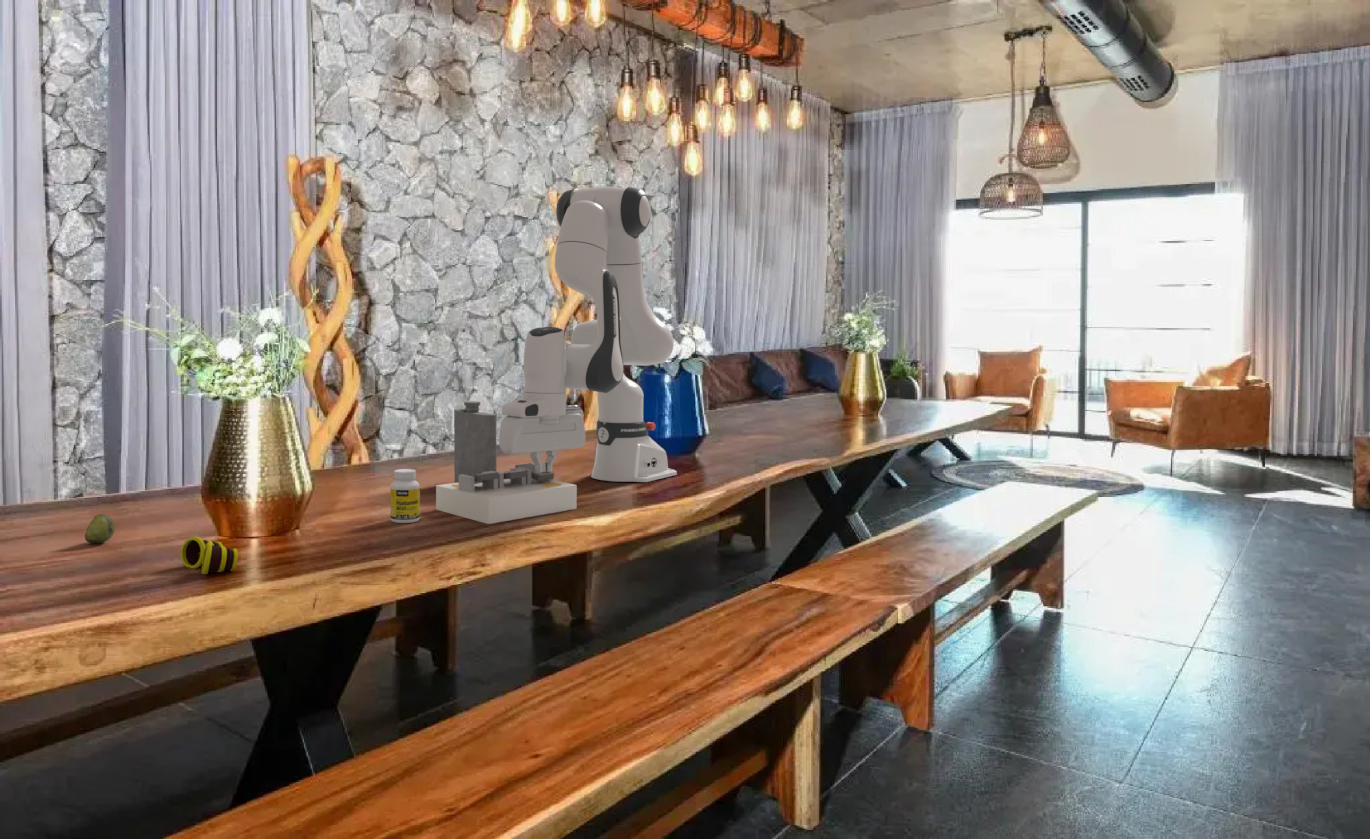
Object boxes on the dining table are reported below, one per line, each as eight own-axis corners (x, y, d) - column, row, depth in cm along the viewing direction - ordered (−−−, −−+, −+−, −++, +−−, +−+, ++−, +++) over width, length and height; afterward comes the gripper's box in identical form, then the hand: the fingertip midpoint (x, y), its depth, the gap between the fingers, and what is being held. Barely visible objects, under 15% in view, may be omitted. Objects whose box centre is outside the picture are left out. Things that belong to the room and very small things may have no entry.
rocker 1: (476, 484, 194) (475, 477, 194) (498, 478, 189) (497, 471, 189) (459, 486, 191) (458, 479, 191) (481, 480, 186) (480, 473, 186)
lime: (86, 547, 158) (84, 518, 157) (83, 541, 162) (82, 512, 161) (117, 544, 161) (115, 515, 160) (114, 538, 164) (112, 510, 164)
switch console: (523, 496, 210) (523, 460, 209) (576, 508, 198) (576, 470, 197) (436, 509, 194) (435, 470, 193) (488, 524, 182) (488, 482, 181)
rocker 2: (503, 478, 199) (503, 471, 199) (527, 476, 194) (526, 469, 194) (487, 480, 196) (487, 473, 196) (511, 478, 191) (510, 471, 191)
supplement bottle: (393, 524, 180) (392, 473, 179) (388, 519, 184) (387, 469, 183) (422, 522, 182) (422, 471, 181) (416, 516, 187) (416, 467, 186)
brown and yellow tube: (238, 578, 145) (244, 546, 146) (202, 578, 141) (208, 544, 142) (212, 566, 152) (217, 535, 152) (177, 565, 148) (183, 533, 148)
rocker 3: (529, 468, 204) (530, 462, 204) (553, 479, 199) (554, 472, 199) (514, 470, 201) (515, 464, 201) (538, 481, 196) (538, 474, 196)
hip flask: (499, 491, 215) (499, 403, 213) (483, 493, 212) (483, 404, 210) (464, 481, 227) (463, 398, 224) (448, 483, 224) (448, 398, 222)
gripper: (573, 403, 206) (572, 466, 207) (495, 406, 191) (494, 475, 192) (592, 405, 202) (591, 470, 203) (514, 409, 187) (513, 478, 188)
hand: (543, 472), depth 197 cm, fingers closed, pressing on rocker 3
